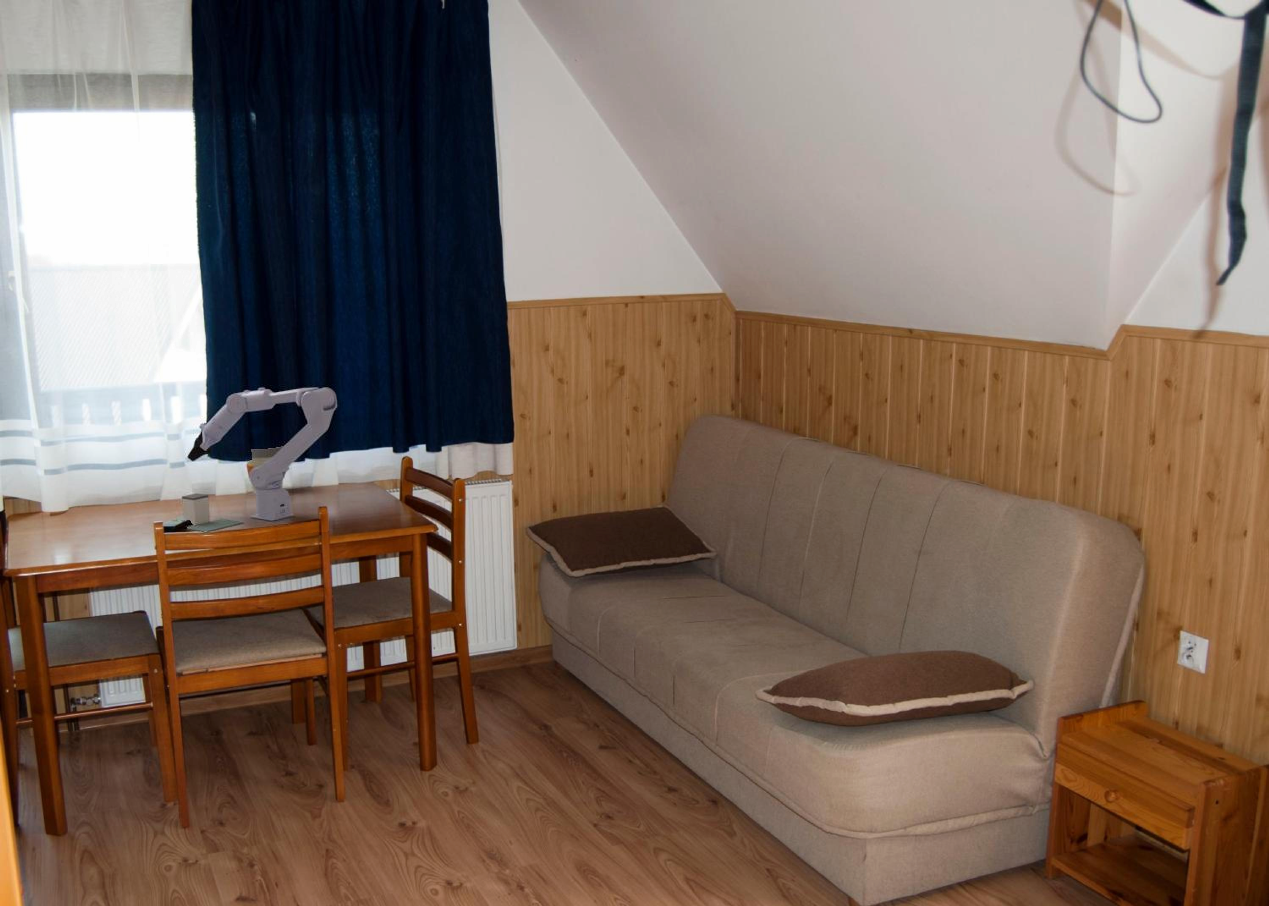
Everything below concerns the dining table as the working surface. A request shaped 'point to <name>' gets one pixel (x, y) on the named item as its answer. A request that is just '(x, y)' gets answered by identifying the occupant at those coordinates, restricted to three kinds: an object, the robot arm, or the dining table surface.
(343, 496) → the dining table surface
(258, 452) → the reusable coffee cup
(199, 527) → the dice mat
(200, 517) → the gray block
